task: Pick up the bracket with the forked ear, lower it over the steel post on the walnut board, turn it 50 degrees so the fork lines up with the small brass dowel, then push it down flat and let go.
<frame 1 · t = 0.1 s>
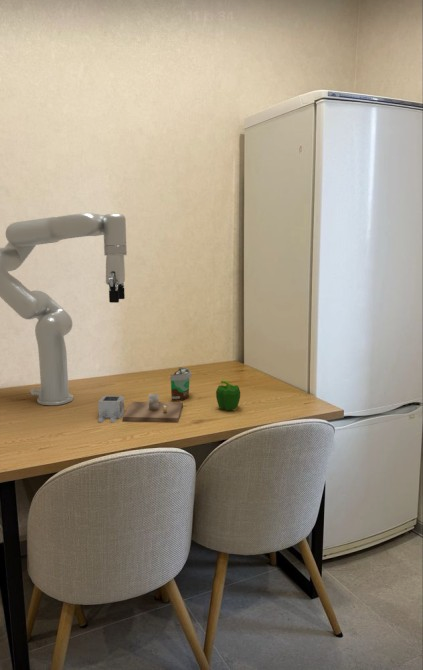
hand: (117, 300, 184), 37 cm above the table, tool pointing down, fingers open, 9 cm apart
post board: (154, 413, 178), on the table
bracket: (107, 420, 172), on the table
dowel: (165, 417, 174), resting on post board
bell pepper: (228, 409, 183), on the table
food container: (183, 397, 196), on the table
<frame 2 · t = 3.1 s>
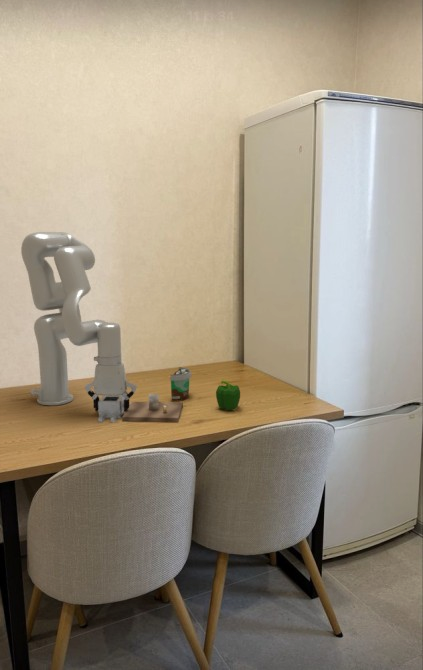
hand: (111, 410, 177), 2 cm above the table, tool pointing down, fingers open, 9 cm apart
nothing on the table moved.
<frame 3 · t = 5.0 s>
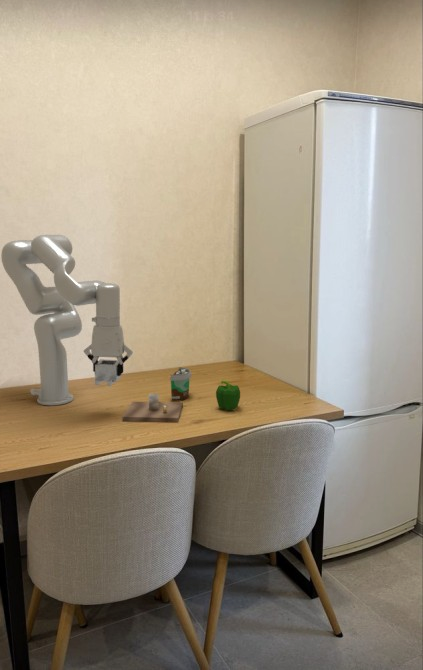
hand: (108, 374, 175), 14 cm above the table, tool pointing down, fingers closed on bracket, 7 cm apart
bracket: (104, 383, 170), point 12 cm above the table, touching gripper
everything else where it was.
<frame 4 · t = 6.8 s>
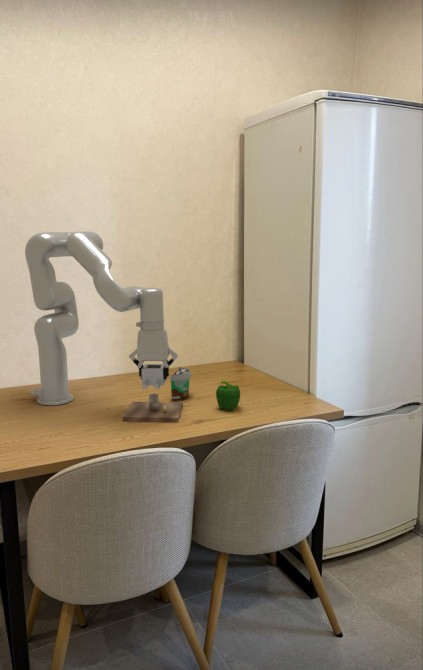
hand: (154, 378, 175), 12 cm above the table, tool pointing down, fingers closed on bracket, 7 cm apart
bracket: (151, 387, 170), point 11 cm above the table, touching gripper
everything else where it was.
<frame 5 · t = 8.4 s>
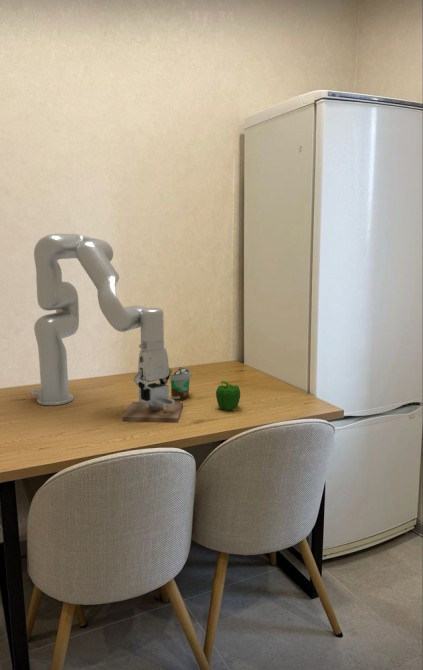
hand: (153, 396, 177), 6 cm above the table, tool pointing down, fingers closed on bracket, 7 cm apart
bracket: (164, 404, 173), point 4 cm above the table, touching gripper
everything else where it was.
when the fingers open (3 cm above the table, at t = 9.8 s): bracket stays where it is, resting on post board.
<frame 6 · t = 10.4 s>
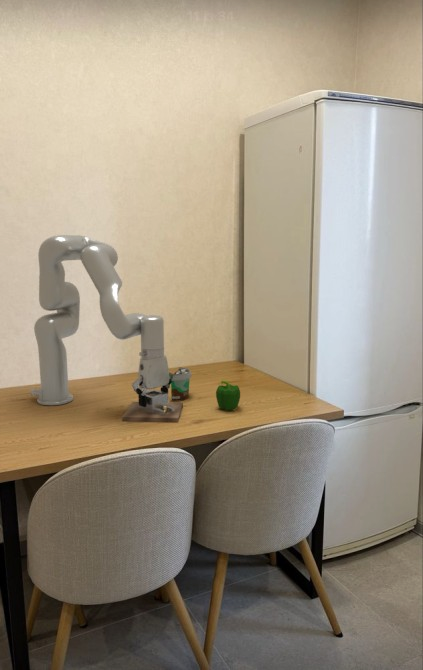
hand: (153, 402, 177), 4 cm above the table, tool pointing down, fingers open, 9 cm apart
bracket: (164, 412, 174), point 1 cm above the table, touching post board
everything else where it was.
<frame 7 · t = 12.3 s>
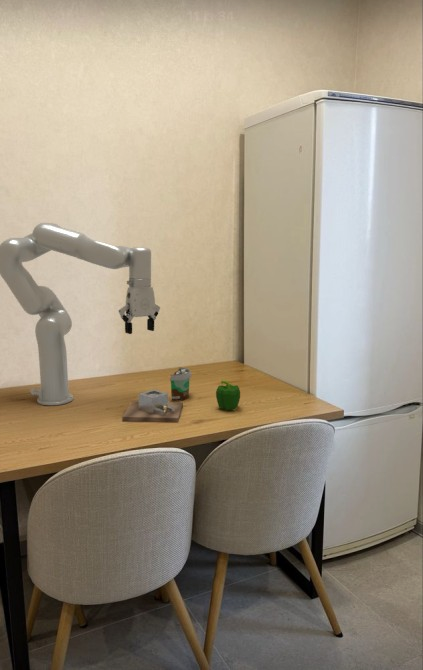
hand: (139, 331, 186), 26 cm above the table, tool pointing down, fingers open, 9 cm apart
nothing on the table moved.
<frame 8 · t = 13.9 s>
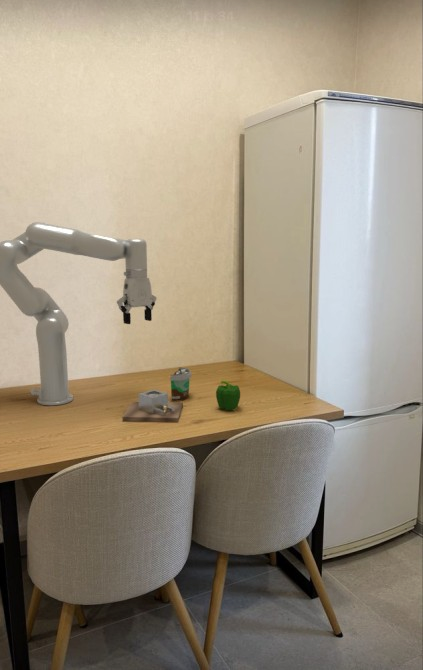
hand: (137, 322, 190), 28 cm above the table, tool pointing down, fingers open, 9 cm apart
nothing on the table moved.
at the end: bracket 0.1 cm from the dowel (horizontally); bracket point 1.5 cm above the table; bracket tilted 0° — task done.
